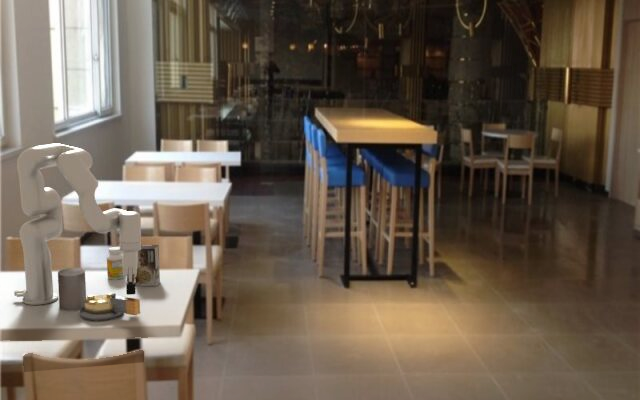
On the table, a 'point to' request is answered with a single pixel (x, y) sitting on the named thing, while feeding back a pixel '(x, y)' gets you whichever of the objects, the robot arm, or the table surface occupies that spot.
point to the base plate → (99, 316)
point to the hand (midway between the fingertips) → (131, 293)
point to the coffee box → (148, 266)
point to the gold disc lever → (111, 304)
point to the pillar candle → (71, 288)
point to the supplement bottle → (114, 263)
